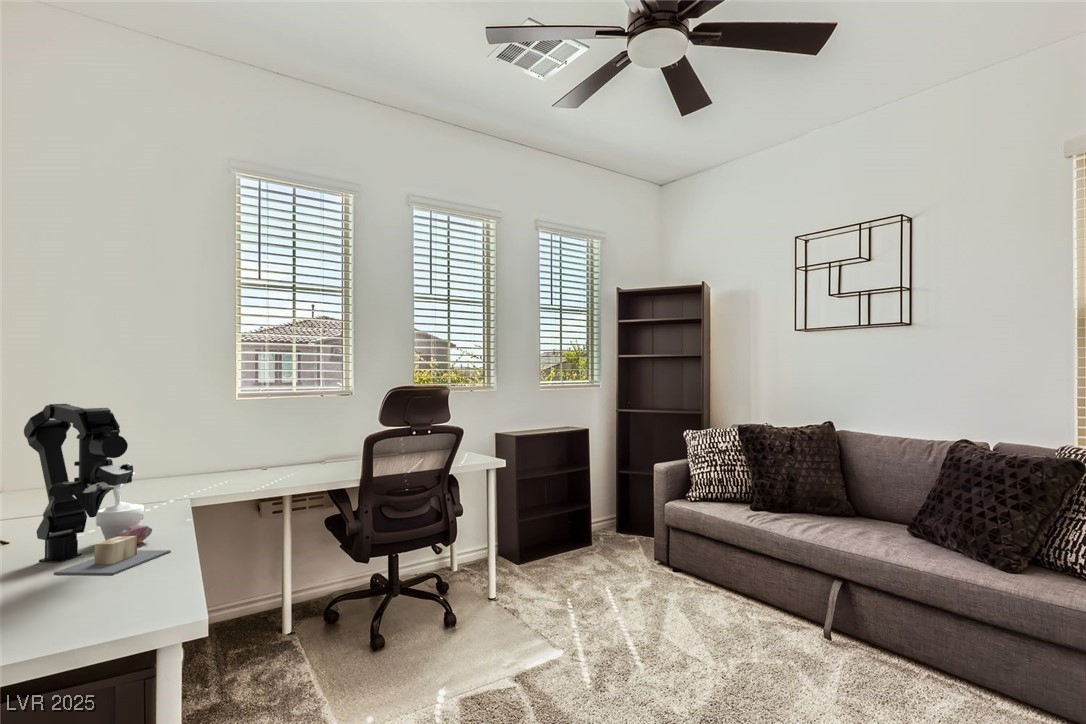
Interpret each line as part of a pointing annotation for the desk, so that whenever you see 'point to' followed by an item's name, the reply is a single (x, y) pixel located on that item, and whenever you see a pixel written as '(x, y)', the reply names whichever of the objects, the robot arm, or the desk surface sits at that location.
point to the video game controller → (137, 532)
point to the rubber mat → (111, 569)
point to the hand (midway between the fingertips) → (92, 517)
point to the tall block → (115, 549)
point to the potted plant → (119, 515)
